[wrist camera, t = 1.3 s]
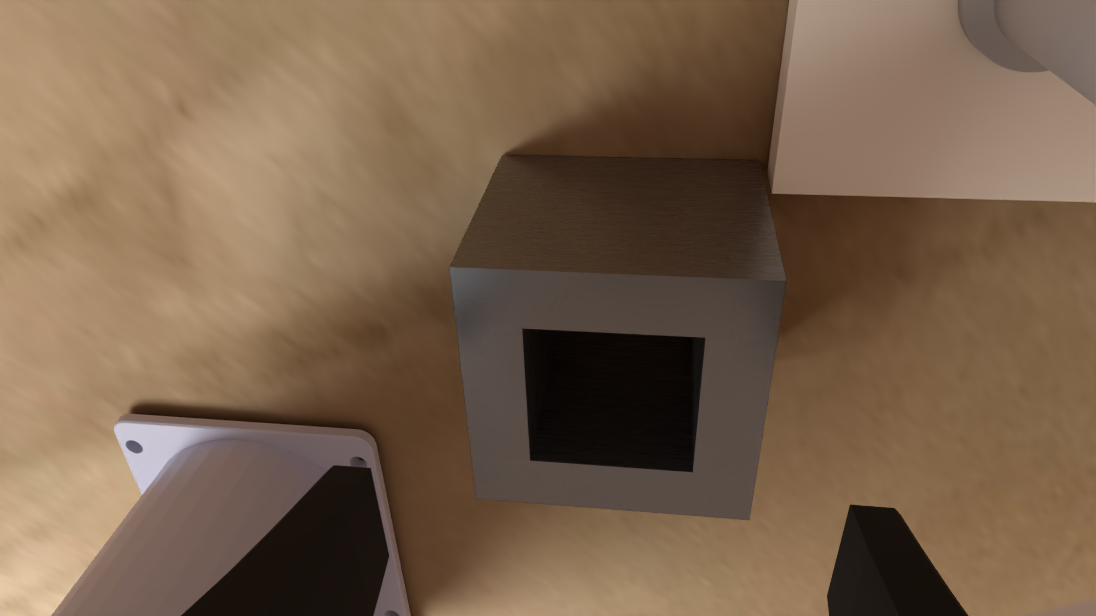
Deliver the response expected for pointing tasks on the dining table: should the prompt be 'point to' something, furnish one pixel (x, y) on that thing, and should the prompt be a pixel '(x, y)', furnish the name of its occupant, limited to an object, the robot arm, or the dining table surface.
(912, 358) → the dining table surface
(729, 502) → the collar
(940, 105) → the post block
